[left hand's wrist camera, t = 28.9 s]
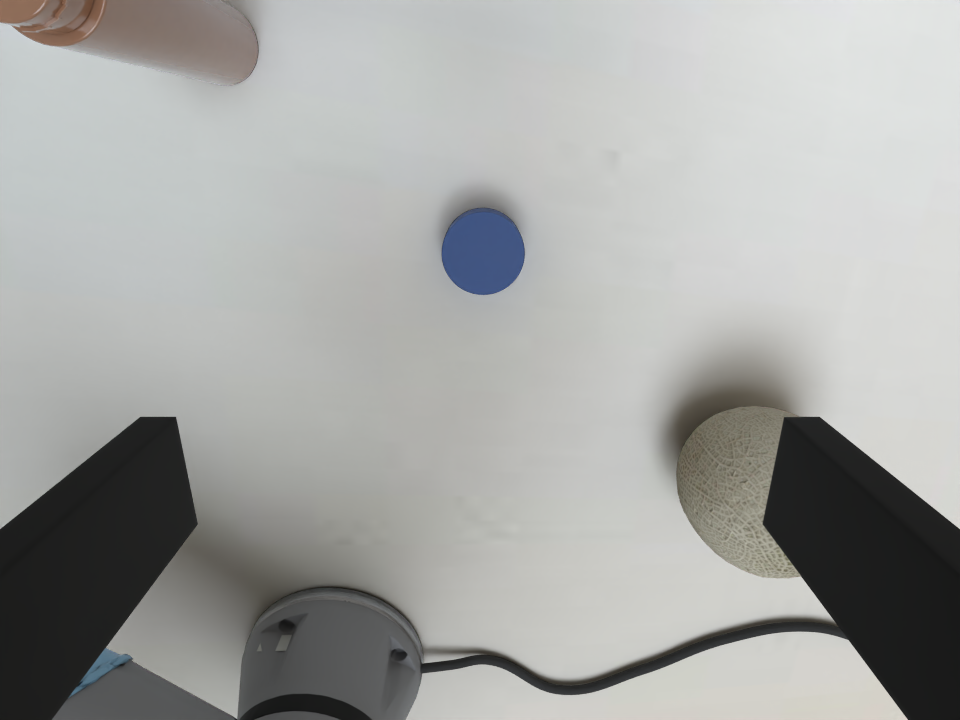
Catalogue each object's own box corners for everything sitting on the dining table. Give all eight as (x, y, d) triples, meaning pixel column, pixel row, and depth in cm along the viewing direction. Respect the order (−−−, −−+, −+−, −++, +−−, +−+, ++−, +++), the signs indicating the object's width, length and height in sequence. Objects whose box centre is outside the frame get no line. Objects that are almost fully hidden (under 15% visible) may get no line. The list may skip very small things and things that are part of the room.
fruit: (708, 534, 47) (807, 702, 33) (631, 434, 43) (702, 571, 29) (827, 464, 44) (988, 612, 30) (754, 353, 41) (896, 460, 27)
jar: (273, 45, 35) (92, -42, 18) (228, 102, 36) (19, 66, 20) (213, -16, 34) (-36, -167, 17) (168, 44, 35) (-105, -45, 18)
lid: (430, 262, 39) (427, 269, 37) (467, 192, 38) (466, 195, 35) (497, 299, 40) (498, 309, 38) (536, 232, 38) (540, 238, 36)
